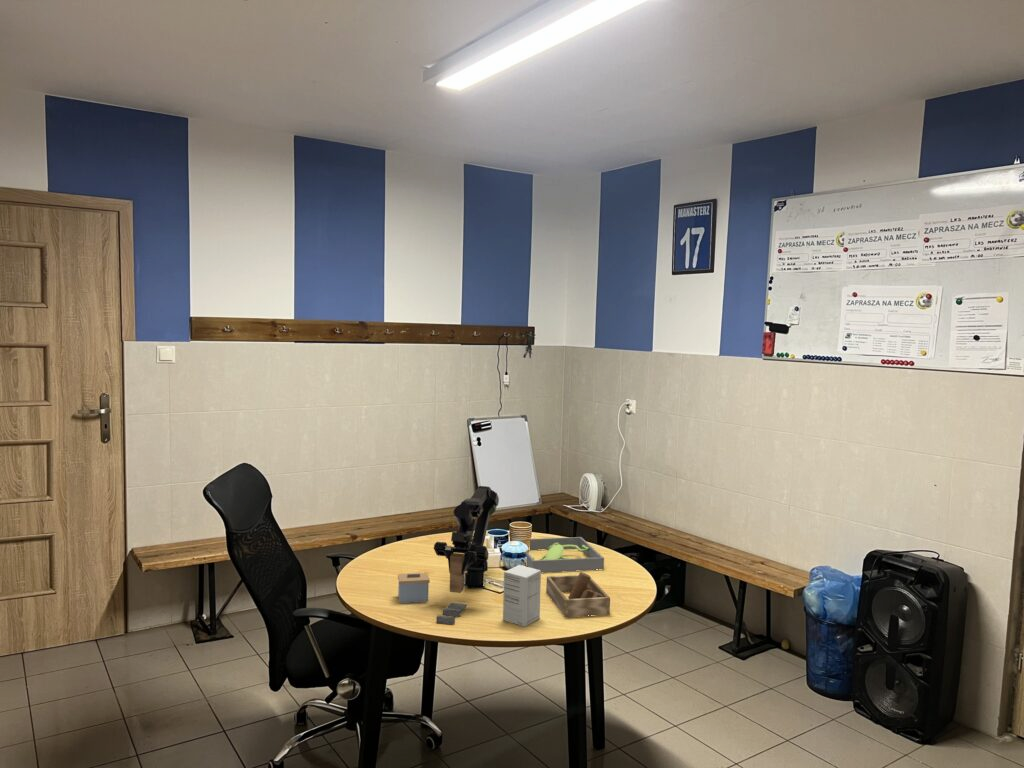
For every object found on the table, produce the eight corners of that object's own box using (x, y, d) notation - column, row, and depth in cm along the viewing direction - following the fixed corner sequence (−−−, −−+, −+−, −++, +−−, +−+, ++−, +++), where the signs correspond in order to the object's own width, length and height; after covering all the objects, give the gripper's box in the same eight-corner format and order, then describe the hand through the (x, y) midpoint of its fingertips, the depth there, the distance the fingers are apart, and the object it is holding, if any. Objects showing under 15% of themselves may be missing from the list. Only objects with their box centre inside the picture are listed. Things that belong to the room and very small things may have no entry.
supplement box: (517, 611, 258) (519, 564, 256) (540, 618, 252) (542, 569, 251) (501, 620, 250) (503, 571, 248) (524, 627, 244) (526, 577, 243)
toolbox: (426, 594, 272) (427, 570, 271) (429, 601, 264) (429, 577, 263) (397, 595, 269) (397, 571, 269) (399, 603, 262) (399, 578, 261)
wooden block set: (600, 619, 259) (612, 592, 259) (579, 611, 257) (591, 584, 256) (582, 598, 276) (593, 573, 276) (562, 591, 274) (573, 565, 274)
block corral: (587, 590, 280) (587, 574, 280) (609, 614, 257) (610, 597, 256) (546, 592, 277) (546, 576, 276) (564, 617, 253) (565, 600, 253)
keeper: (443, 613, 254) (443, 607, 254) (460, 615, 253) (460, 609, 253) (436, 622, 246) (436, 616, 246) (453, 624, 245) (453, 618, 245)
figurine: (592, 556, 323) (592, 543, 322) (568, 573, 299) (568, 560, 299) (553, 549, 331) (553, 536, 331) (526, 565, 308) (527, 552, 307)
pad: (450, 604, 263) (450, 602, 263) (467, 605, 261) (467, 604, 261) (445, 610, 257) (445, 608, 257) (462, 612, 256) (462, 610, 256)
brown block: (453, 587, 260) (453, 552, 259) (464, 588, 259) (464, 554, 258) (449, 591, 256) (450, 556, 255) (460, 593, 256) (461, 557, 254)
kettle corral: (580, 547, 333) (581, 536, 332) (603, 569, 304) (604, 557, 303) (515, 550, 326) (515, 539, 326) (532, 573, 297) (532, 561, 297)
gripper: (435, 519, 261) (424, 560, 252) (487, 523, 257) (478, 565, 248) (442, 534, 270) (432, 574, 260) (492, 539, 266) (483, 580, 256)
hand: (456, 573), depth 256 cm, fingers closed on brown block, 4 cm apart
